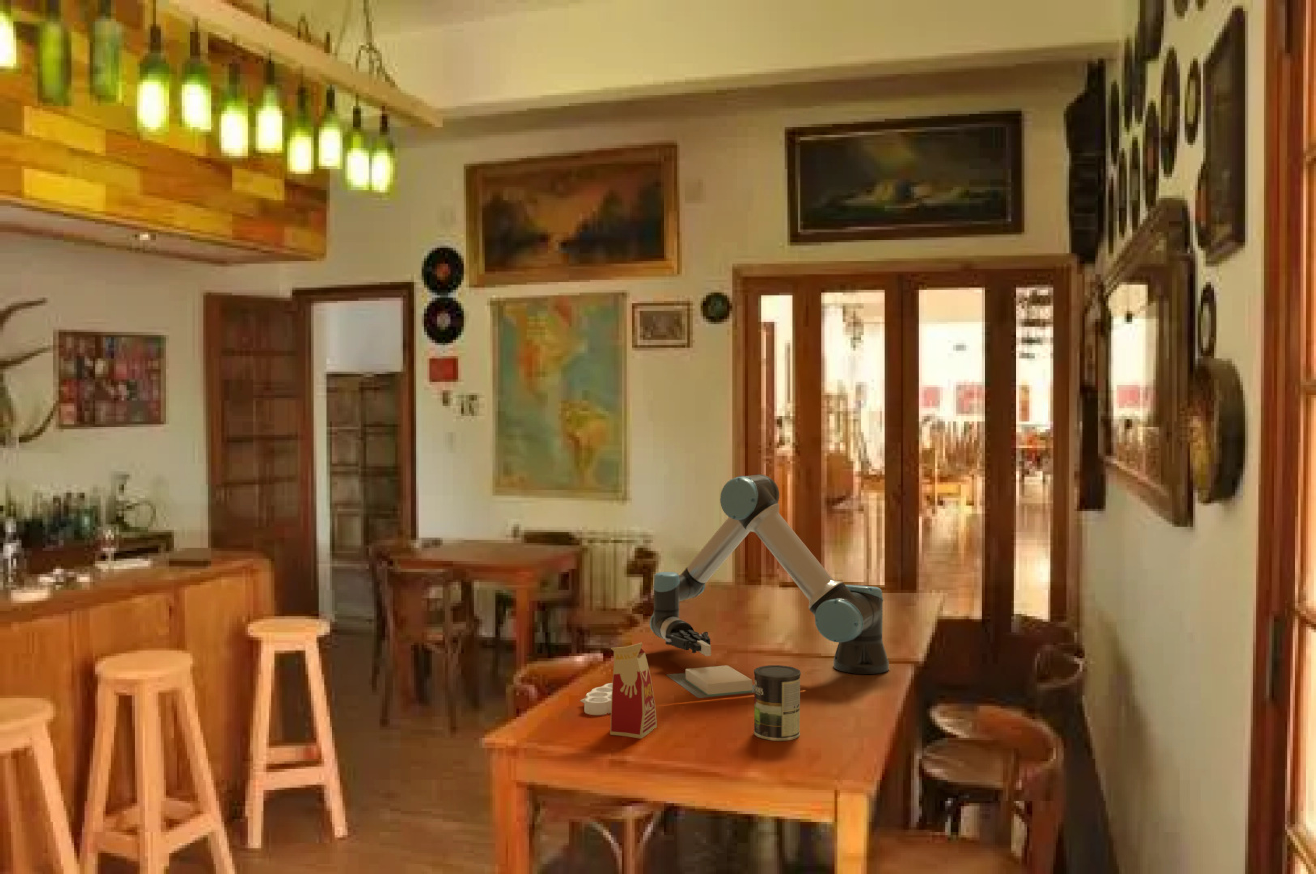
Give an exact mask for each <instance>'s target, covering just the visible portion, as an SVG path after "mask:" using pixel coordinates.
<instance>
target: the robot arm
mask: <svg viewBox="0 0 1316 874" xmlns="http://www.w3.org/2000/svg"><path fill="white" fill-rule="evenodd" d="M779 499H780V490H779V487H778V484H777V482H775V480H774V479H772V478H771V477H769V476H767V475H766V474H759V473H758V474H753V475H739V476H737V477H733V478H731V479H729V480H728V481H727V482H726V483H725V484H724V485H723V486H722V489H721V492H720V499H719V501H720V502H719V503H720V507H721V509H722V512H723V513H724V514H725V516H727V518H726V519H725V521H724V522H723V523H722V524H721V526H720V527H719V528H718V529H717V530H716V532H715V533H714V534H713V535H712V536H711V538H710V539H709V540H708V541H707V542H706V544H704V546H703V548H702V549H701V550H699V552H698V553H697V554H696V556H695V557H694V558H693V559H692V560H691V562H690V563H689V564H688V565H687V567H686V568H685V569H684V570H683V571H682V573H680V575H679V574H678V573H677V572H674V571H661V572H656V573H655V574H654V577H653V586H652V587H653V589H652V590H653V613H652V615H651V616H650V619H649V627H650V630H651V631H652V632H653V633H654V635H655V636H656V637H659V638H661V639H663V641H665V645H667V646H673V647H675V648H677V649H681V650H685V651H689V650H691V653H692V654H695V653H697V652H698V653H700V654H702V655H703V656H705V657H711V656H712V645H711V638H710V636H709V632H708V631H704V632H701V634H700V633H699V632H698V631H695V630H694V627H692V625H691V624H690V623H688V622H686V621H685V620H683V619H681V618H680V602H681V601H682V602H683V601H685V600H688V599H689V600H690V599H693V598H697V597H698V596H700V595H701V594H702V593H703V592H704V591H705V589H706V584H707V583H708V581H710V578H712V576H713V575H714V574H715V573H716V572H717V571H718V569H720V567H721V566H722V565H723V564H724V562H725V561H727V559H728V558H729V557H730V555H731V554H732V553H733V552H734V551H735V549H737V547H738V546H739V545H740V544H741V543H742V541H743V540H744V539H745V538H747V536H748V535H749V533H751V532H753V533H755V534H756V536H757V537H758V538H759V539H760V540H761V542H762V543H763V544H764V546H765V547H766V548H767V550H768V551H769V552H770V553H771V554H772V556H774V557H773V558H775V559H776V560H777V562H778V563H779V565H780V566H781V567H782V568H783V569H784V571H785V572H786V573H787V575H788V576H789V577H790V578H791V579H792V580H793V582H794V583H795V584H796V585H797V587H798V588H799V589H800V591H801V592H802V593H803V595H804V596H805V598H807V599H808V609H809V611H810V612H811V613H812V615H813V616H814V623H815V627H816V629H817V631H818V632H819V634H821V636H822V637H823V638H825V639H826V640H828V641H830V642H834V643H837V647H836V650H835V654H834V657H833V668H834V669H836V670H837V671H840V672H843V673H849V674H855V675H875V674H882V673H885V672H886V673H887V672H888V671H889V669H890V668H889V666H890V665H889V664H890V662H889V658H888V655H887V653H886V649H885V646H884V641H883V617H884V616H883V613H884V612H883V611H884V610H883V609H884V608H883V607H884V605H883V602H884V597H883V591H882V589H881V588H880V587H877V586H869V585H861V584H860V585H859V584H845V583H844V582H843V581H841V580H835V579H833V577H832V576H831V575H830V574H829V573H828V571H827V570H826V569H825V568H824V566H823V565H822V563H821V562H819V560H818V559H817V558H816V556H815V555H814V554H813V553H812V552H811V551H810V549H809V548H808V547H807V545H806V544H805V543H804V542H803V541H802V540H801V538H800V537H799V536H798V534H796V532H795V531H794V530H793V528H792V527H791V526H790V525H789V523H788V522H787V521H786V519H784V517H783V516H782V515H781V514H780V504H779V501H780V500H779Z"/></svg>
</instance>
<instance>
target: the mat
mask: <svg viewBox="0 0 1316 874" xmlns="http://www.w3.org/2000/svg"><path fill="white" fill-rule="evenodd" d="M666 677H668V678H670V679H671V680H672V681H674V682H675V683H676V684H678V685H679V686H681V687H682V688H683V689H685V690H686V691H688V692H689V693H690V694H692V695H693V696H694V697H696V698H697V699H704V698H705V699H706V698H713V697H714V698H715V697H723V696H732V695H733V696H734V695H743V694H752V693H753V694H754V691H755V689H754V685H755V684H754V683H752V692H746V693H735V694H725V695H715V696H707V695H706V694H704V693H703V692H702V691H700V690H699V689H697V688H696V687H694V686H693V685H692V684H690V683H689V682H687V681H686V672H681V673H680V672H678V673H669V674H666Z"/></svg>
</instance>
